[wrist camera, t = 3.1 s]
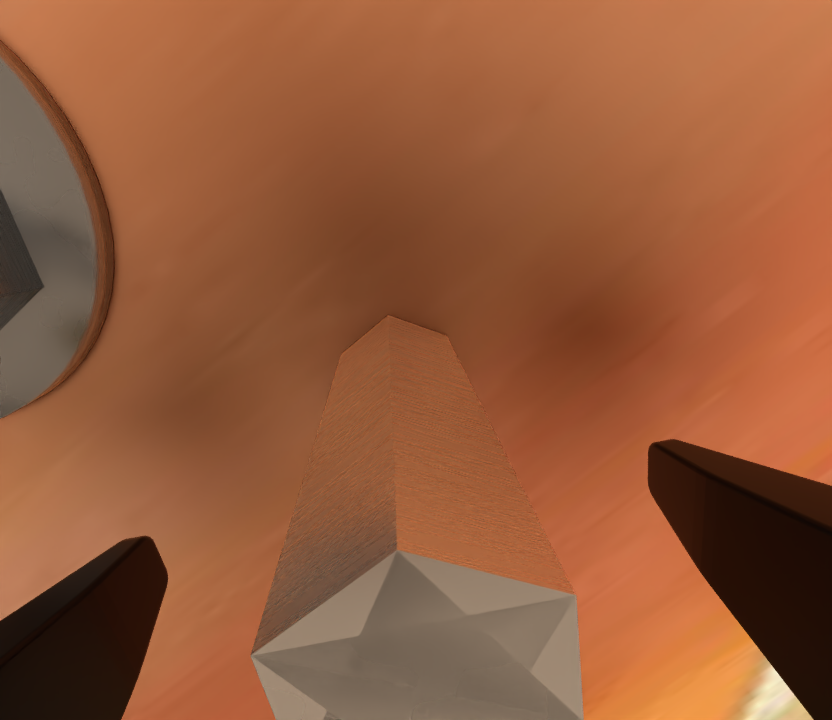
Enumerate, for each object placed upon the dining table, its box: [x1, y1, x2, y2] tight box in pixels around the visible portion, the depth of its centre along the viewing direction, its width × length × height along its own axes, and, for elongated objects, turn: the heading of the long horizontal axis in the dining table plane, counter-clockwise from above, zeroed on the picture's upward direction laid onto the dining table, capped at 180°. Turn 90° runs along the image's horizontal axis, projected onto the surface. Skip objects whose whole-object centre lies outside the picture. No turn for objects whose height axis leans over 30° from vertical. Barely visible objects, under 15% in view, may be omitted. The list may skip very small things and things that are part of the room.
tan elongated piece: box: [251, 315, 584, 720], centre depth 10 cm, size 4×3×10 cm
